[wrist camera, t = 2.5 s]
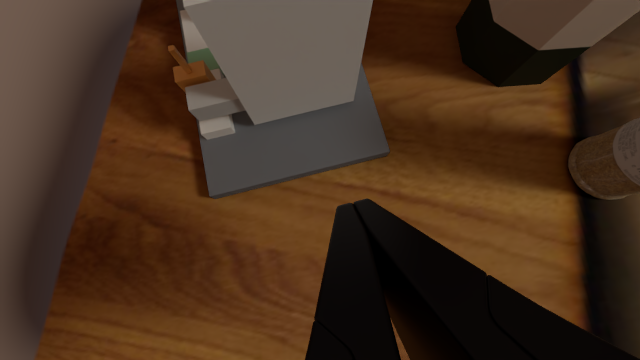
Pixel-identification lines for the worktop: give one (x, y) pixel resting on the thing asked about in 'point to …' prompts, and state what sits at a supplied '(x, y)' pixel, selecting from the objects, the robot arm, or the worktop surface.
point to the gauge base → (281, 135)
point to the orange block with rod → (189, 71)
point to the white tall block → (278, 55)
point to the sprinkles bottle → (608, 163)
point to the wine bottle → (534, 35)
